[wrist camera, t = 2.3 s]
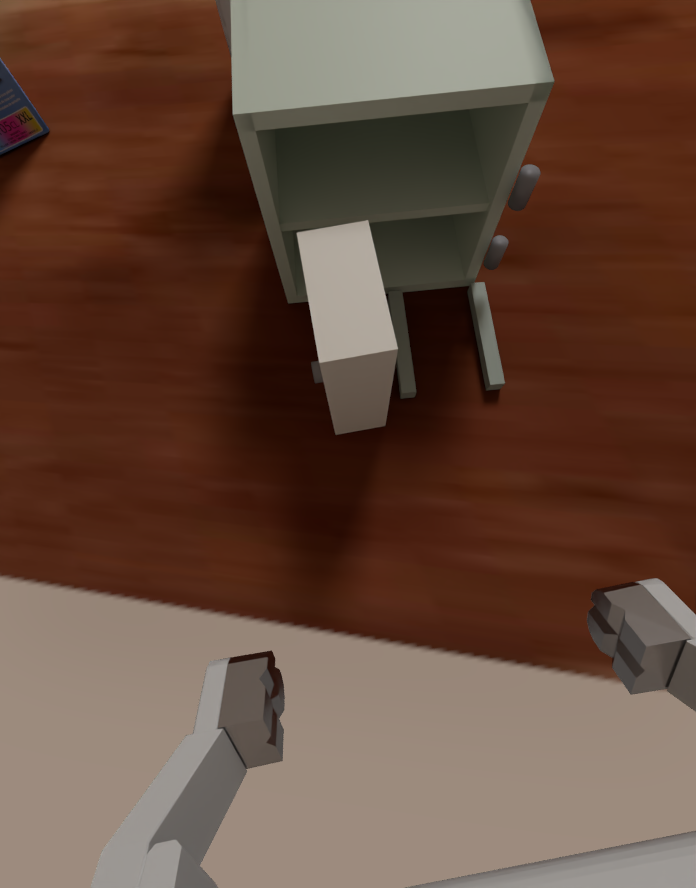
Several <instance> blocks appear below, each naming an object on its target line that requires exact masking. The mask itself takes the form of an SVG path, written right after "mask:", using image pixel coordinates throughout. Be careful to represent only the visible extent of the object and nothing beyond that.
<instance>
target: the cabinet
mask: <svg viewBox="0 0 696 888" xmlns="http://www.w3.org/2000/svg"><path fill="white" fill-rule="evenodd" d="M231 51H232V104H233V117H234V121H235V124H236V128H237V131H238V134H239V138H240V141H241V145H242V148H243V151H244V155H245V158H246V162H247V165H248V168H249V172H250V175H251V179H252V182H253V185H254V189H255V192H256V196H257V199H258V202H259V206H260V209H261V213H262V216H263V219H264V223H265V226H266V230H267V233H268V236H269V240H270V243H271V247H272V250H273V253H274V257H275V260H276V264H277V267H278V270H279V274H280V277H281V281H282V284H283V287H284V291H285V294H286V298H287V301H288V304H289V303H299V302H309V301H308V295H307V290H306V284H305V278H304V272H303V267H302V261H301V255H300V249H299V243H298V238H297V232H303V231H309V230H315V229H320V228H326V227H332V226H338V225H343V224H349V223H355V222H361V221H366V220H368V222H369V226H370V230H371V235H372V239H373V243H374V248H375V252H376V256H377V261H378V265H379V269H380V274H381V278H382V282H383V286H384V291H385V294H388V306H389V312H390V317H391V321H392V325H393V330H394V334H395V338H396V343H397V347H398V352H397V358H396V368H397V375H398V383H399V391H400V398H401V399H402V398H413V397H415V395H416V385H415V378H414V371H413V364H412V357H411V349H410V342H409V335H408V328H407V321H406V314H405V307H404V300H403V293H402V292H412V291H422V290H432V289H442V288H452V287H463V286H469V289H468V291H467V293H468V298H469V303H470V309H471V314H472V319H473V325H474V330H475V335H476V340H477V346H478V351H479V356H480V361H481V367H482V372H483V377H484V383H485V388H486V390H497V389H501V388H502V386H503V385H504V384H505V381H504V376H503V371H502V366H501V362H500V357H499V352H498V347H497V342H496V337H495V332H494V327H493V322H492V317H491V312H490V308H489V303H488V298H487V293H486V288H485V283H484V282H480V283H474V281H475V279H476V276H477V274H478V271H479V269H480V266H481V264H482V261H483V259H484V256H485V254H486V251H487V249H488V246H489V244H490V241H491V239H492V236H493V234H494V231H495V229H496V226H497V224H498V221H499V219H500V216H501V214H502V211H503V209H504V206H505V204H506V201H507V199H508V196H509V194H510V191H511V189H512V186H513V184H514V181H515V179H516V176H517V174H518V171H519V169H520V166H521V164H522V161H523V159H524V156H525V154H526V151H527V149H528V146H529V144H530V141H531V139H532V136H533V134H534V131H535V129H536V126H537V124H538V121H539V119H540V116H541V114H542V111H543V109H544V106H545V104H546V101H547V99H548V96H549V94H550V91H551V89H552V86H553V84H554V78H553V75H552V72H551V68H550V65H549V62H548V58H547V55H546V52H545V48H544V45H543V42H542V38H541V35H540V32H539V28H538V25H537V22H536V18H535V15H534V12H533V8H532V5H531V2H530V0H231ZM539 176H540V170H539V168H538V167H536V166H535V165H525V166H523V167H522V169H521V171H520V173H519V176H518V178H517V181H516V183H515V186H514V188H513V191H512V193H511V196H510V198H509V201H508V206H509V207H510V208H511V209H512V210H515V211H520V210H522V209H524V208H525V206H526V204H527V202H528V200H529V198H530V195H531V193H532V191H533V189H534V187H535V184H536V182H537V180H538V178H539ZM507 245H508V240H507V238H506V237H504V236H496V237H494V238H493V240H492V243H491V245H490V248H489V250H488V253H487V255H486V257H485V260H484V266H485V267H486V268H487V269H489V270H494V269H496V268H497V267H498V265H499V263H500V261H501V258H502V256H503V254H504V252H505V250H506V248H507Z"/></svg>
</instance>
